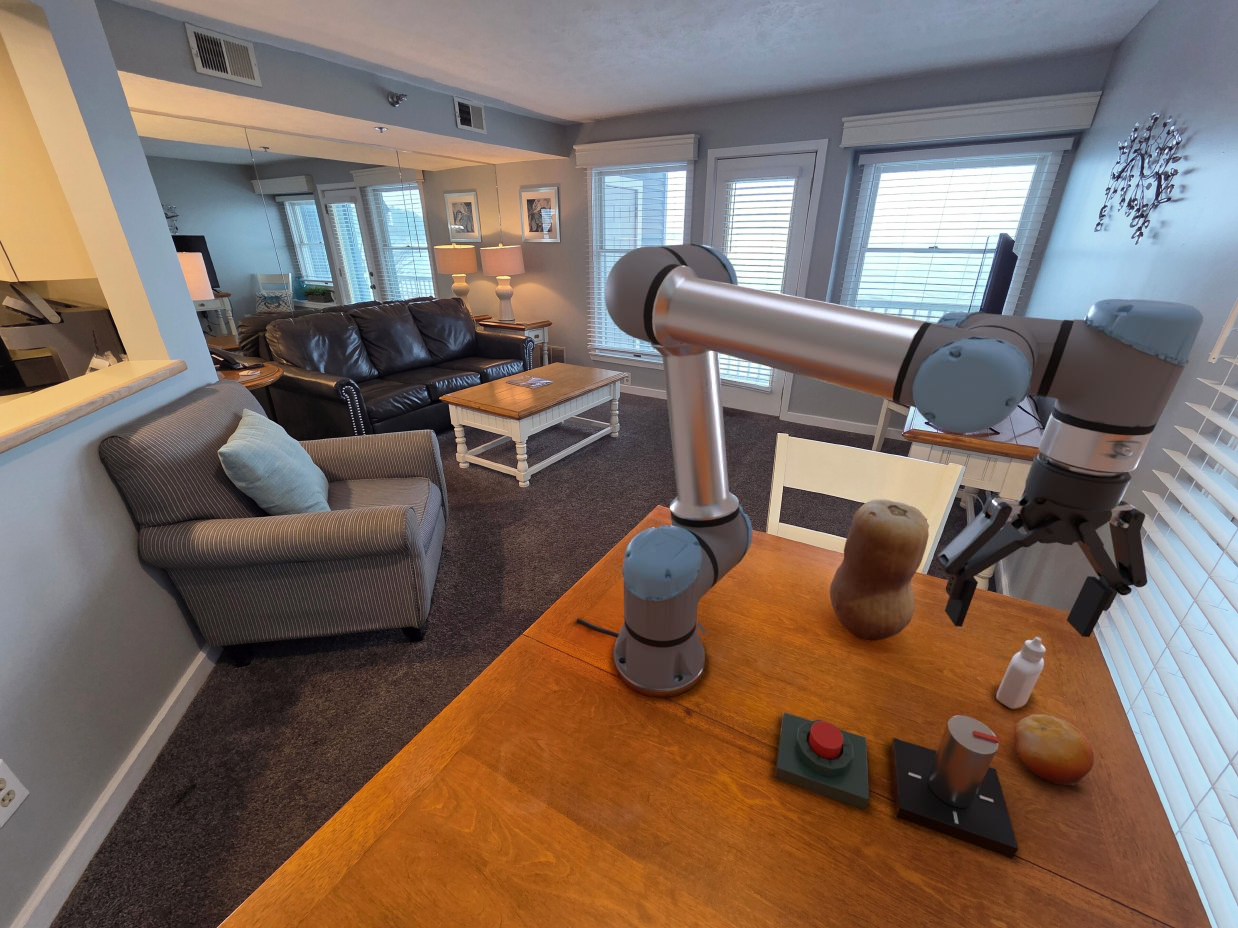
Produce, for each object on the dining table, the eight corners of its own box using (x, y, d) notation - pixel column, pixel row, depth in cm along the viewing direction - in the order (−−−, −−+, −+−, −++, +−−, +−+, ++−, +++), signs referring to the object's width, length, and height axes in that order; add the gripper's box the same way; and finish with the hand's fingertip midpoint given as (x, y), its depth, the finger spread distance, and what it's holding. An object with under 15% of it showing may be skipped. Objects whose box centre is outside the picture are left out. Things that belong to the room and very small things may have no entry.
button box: (774, 778, 66) (778, 758, 65) (781, 721, 74) (785, 702, 72) (865, 810, 63) (871, 790, 61) (863, 747, 70) (868, 728, 68)
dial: (929, 798, 62) (952, 742, 57) (924, 762, 66) (945, 707, 62) (977, 814, 60) (1004, 758, 56) (968, 776, 64) (993, 721, 60)
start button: (807, 752, 66) (810, 742, 65) (809, 727, 69) (811, 717, 68) (840, 763, 64) (843, 753, 63) (840, 737, 68) (843, 726, 67)
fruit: (1112, 806, 61) (1089, 753, 60) (1031, 797, 66) (1009, 748, 65) (1098, 753, 67) (1078, 704, 66) (1026, 749, 72) (1006, 703, 71)
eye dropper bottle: (1040, 708, 75) (1070, 649, 70) (1004, 710, 75) (1031, 650, 70) (1018, 684, 79) (1045, 626, 74) (984, 686, 79) (1008, 628, 74)
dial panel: (896, 817, 62) (900, 806, 61) (890, 746, 70) (893, 736, 69) (1012, 858, 58) (1018, 847, 57) (991, 778, 66) (996, 767, 65)
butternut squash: (918, 656, 85) (959, 531, 74) (838, 655, 85) (868, 531, 75) (881, 601, 97) (911, 487, 87) (812, 601, 98) (834, 487, 87)
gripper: (968, 471, 49) (915, 636, 58) (1263, 485, 46) (1158, 657, 55) (934, 442, 55) (892, 594, 64) (1189, 452, 52) (1107, 610, 61)
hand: (1014, 623), depth 59 cm, fingers open, 13 cm apart
